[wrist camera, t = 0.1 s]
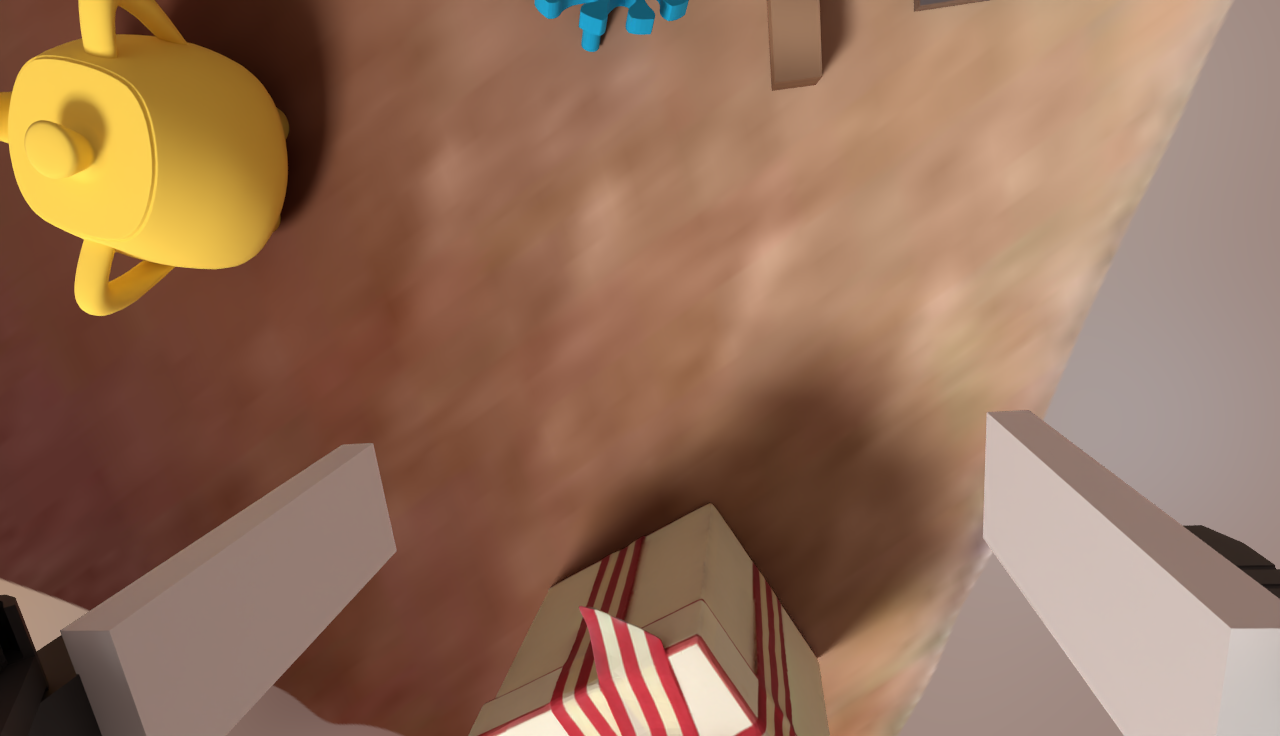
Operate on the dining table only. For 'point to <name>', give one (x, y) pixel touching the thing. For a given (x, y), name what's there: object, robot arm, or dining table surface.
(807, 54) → the beam
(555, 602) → the gift box
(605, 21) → the gear
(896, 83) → the dining table surface
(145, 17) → the teapot
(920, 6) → the hole plate
